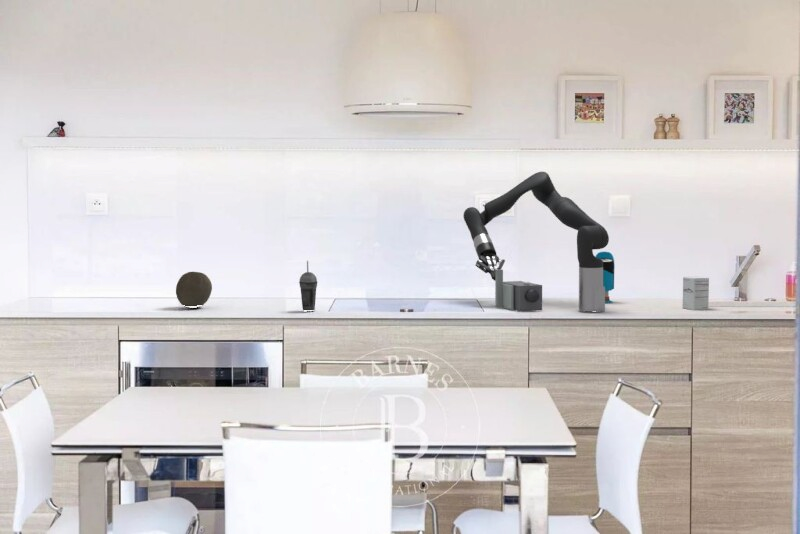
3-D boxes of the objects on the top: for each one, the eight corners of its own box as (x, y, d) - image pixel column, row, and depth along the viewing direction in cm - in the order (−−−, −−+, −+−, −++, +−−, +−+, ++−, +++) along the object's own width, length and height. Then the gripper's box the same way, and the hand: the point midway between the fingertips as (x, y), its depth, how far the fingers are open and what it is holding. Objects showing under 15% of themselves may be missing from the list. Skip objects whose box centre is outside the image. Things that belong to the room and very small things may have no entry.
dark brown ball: (206, 310, 411) (205, 273, 410) (171, 310, 413) (170, 273, 412) (216, 306, 425) (215, 270, 424) (183, 306, 427) (182, 270, 426)
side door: (495, 307, 415) (495, 269, 413) (503, 306, 416) (503, 269, 414) (505, 309, 405) (505, 271, 404) (513, 309, 406) (513, 271, 405)
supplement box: (681, 308, 410) (682, 276, 409) (697, 307, 412) (697, 276, 411) (693, 310, 403) (693, 278, 402) (709, 309, 405) (709, 277, 404)
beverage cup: (301, 313, 401) (300, 261, 400) (297, 310, 408) (297, 260, 407) (319, 312, 403) (318, 261, 402) (316, 310, 410) (315, 260, 409)
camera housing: (498, 306, 421) (498, 279, 420) (520, 305, 424) (520, 278, 423) (521, 312, 400) (521, 283, 399) (544, 311, 403) (544, 283, 402)
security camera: (594, 252, 426) (592, 251, 436) (594, 303, 428) (592, 301, 438) (615, 252, 425) (612, 251, 435) (615, 303, 427) (612, 301, 437)
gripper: (496, 253, 430) (508, 284, 419) (467, 253, 426) (478, 285, 415) (501, 240, 425) (514, 272, 414) (471, 241, 420) (483, 273, 410)
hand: (496, 279), depth 414 cm, fingers closed
